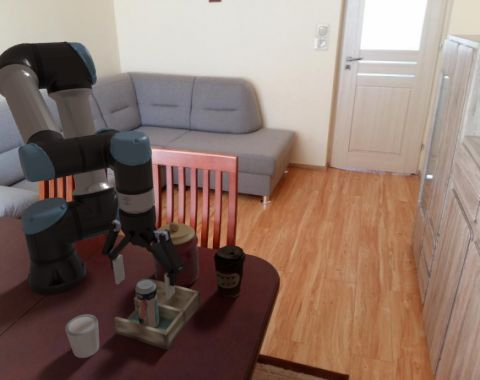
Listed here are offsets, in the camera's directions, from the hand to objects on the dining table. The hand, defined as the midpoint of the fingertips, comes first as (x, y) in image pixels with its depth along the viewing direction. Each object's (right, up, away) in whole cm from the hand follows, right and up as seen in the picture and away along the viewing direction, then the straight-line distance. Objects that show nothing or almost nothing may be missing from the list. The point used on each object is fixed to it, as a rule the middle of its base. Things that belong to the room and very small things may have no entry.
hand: (144, 288), depth 93 cm
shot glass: (-13, -14, -1) cm, 19 cm away
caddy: (+2, -10, +8) cm, 12 cm away
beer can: (0, -10, +4) cm, 11 cm away
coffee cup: (+19, -6, +18) cm, 27 cm away
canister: (+4, -3, +24) cm, 25 cm away
